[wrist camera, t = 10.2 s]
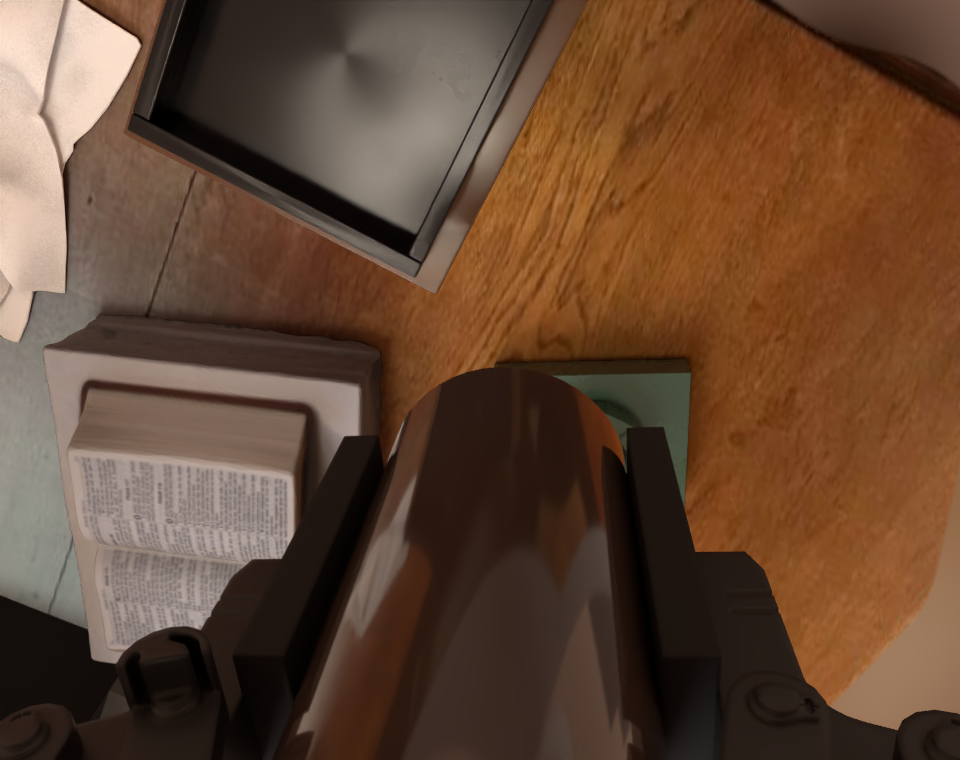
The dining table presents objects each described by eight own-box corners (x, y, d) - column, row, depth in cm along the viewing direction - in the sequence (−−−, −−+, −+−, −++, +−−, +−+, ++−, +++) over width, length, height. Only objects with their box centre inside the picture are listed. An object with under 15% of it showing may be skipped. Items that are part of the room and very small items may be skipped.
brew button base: (685, 358, 50) (696, 384, 47) (680, 495, 54) (688, 529, 51) (494, 362, 52) (489, 389, 48) (502, 496, 56) (498, 529, 52)
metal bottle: (624, 360, 17) (779, 1191, 5) (626, 566, 19) (738, 1495, 7) (378, 370, 17) (-11, 1133, 5) (407, 568, 19) (169, 1428, 8)
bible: (454, 364, 52) (433, 436, 43) (367, 667, 63) (336, 774, 54) (100, 262, 51) (3, 314, 42) (76, 587, 62) (-5, 683, 53)
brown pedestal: (586, -16, 42) (613, -45, 22) (482, 188, 47) (427, 314, 27) (380, -135, 41) (212, -281, 21) (294, 87, 46) (91, 142, 26)
